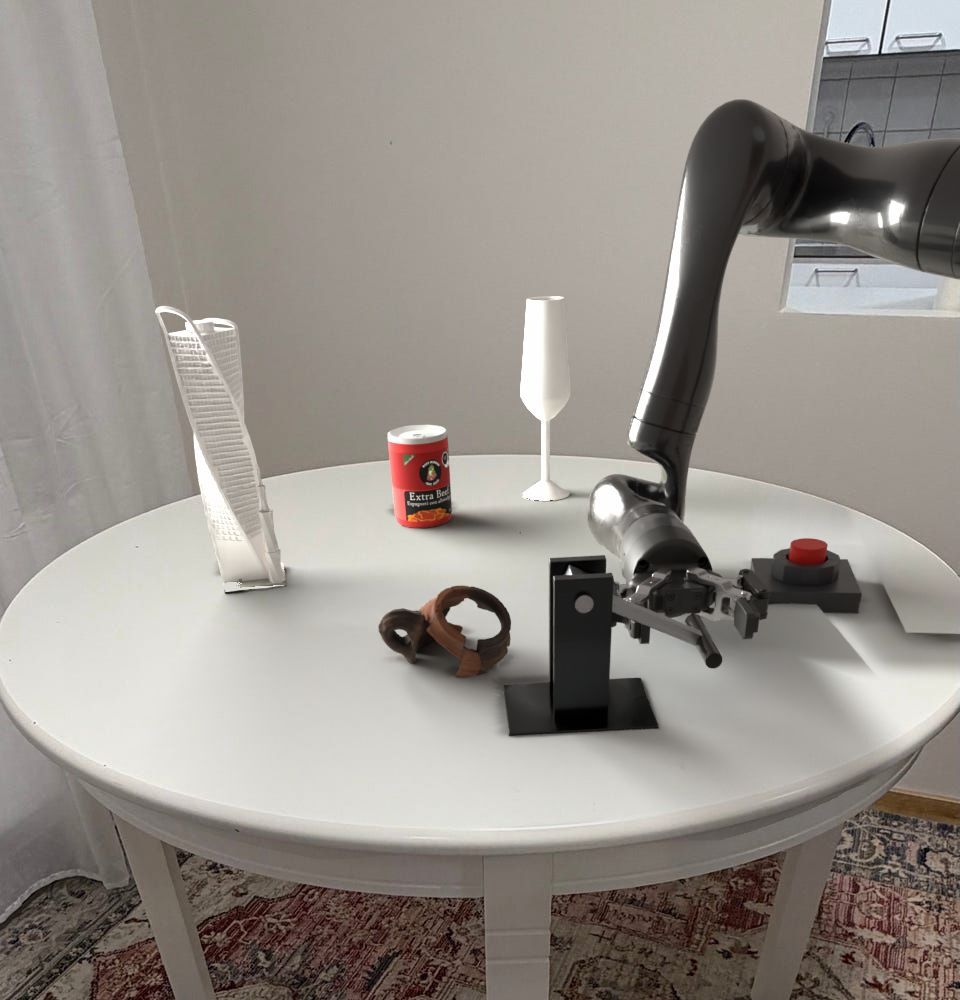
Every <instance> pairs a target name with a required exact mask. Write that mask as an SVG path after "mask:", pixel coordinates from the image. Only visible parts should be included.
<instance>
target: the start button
mask: <svg viewBox="0 0 960 1000" xmlns="http://www.w3.org/2000/svg"><path fill="white" fill-rule="evenodd" d="M789 548H790V551H789V558H788V560H789V561H791V562H794V563H799V564H812V565H816V564H821V563H824V562H825V558H826V552H827V550H828V543H827V542H826V541H824V540H822V539H818V538H811V537H807V538H805V537H803V538H796V539H794V540H792V541H791V542H790V546H789Z"/></svg>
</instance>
